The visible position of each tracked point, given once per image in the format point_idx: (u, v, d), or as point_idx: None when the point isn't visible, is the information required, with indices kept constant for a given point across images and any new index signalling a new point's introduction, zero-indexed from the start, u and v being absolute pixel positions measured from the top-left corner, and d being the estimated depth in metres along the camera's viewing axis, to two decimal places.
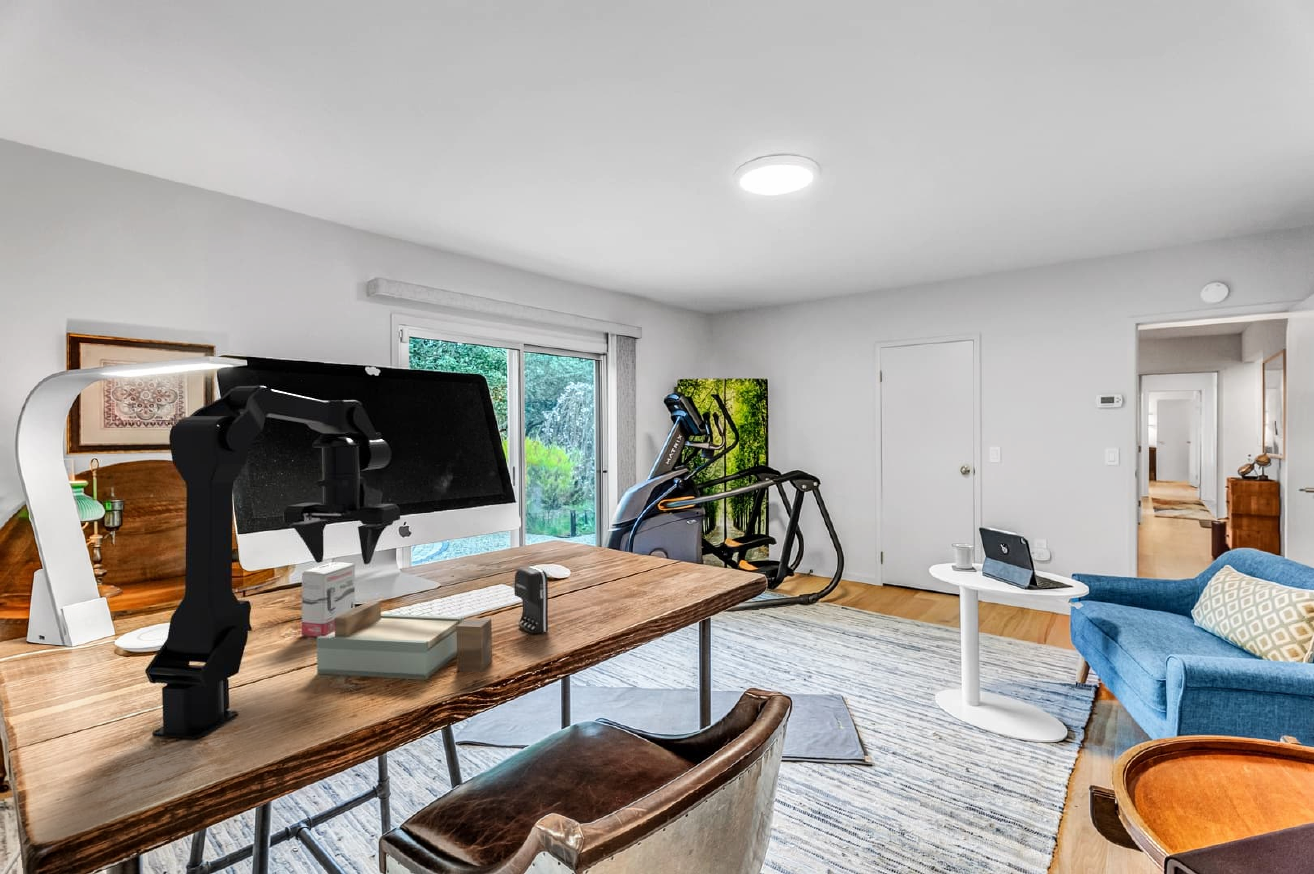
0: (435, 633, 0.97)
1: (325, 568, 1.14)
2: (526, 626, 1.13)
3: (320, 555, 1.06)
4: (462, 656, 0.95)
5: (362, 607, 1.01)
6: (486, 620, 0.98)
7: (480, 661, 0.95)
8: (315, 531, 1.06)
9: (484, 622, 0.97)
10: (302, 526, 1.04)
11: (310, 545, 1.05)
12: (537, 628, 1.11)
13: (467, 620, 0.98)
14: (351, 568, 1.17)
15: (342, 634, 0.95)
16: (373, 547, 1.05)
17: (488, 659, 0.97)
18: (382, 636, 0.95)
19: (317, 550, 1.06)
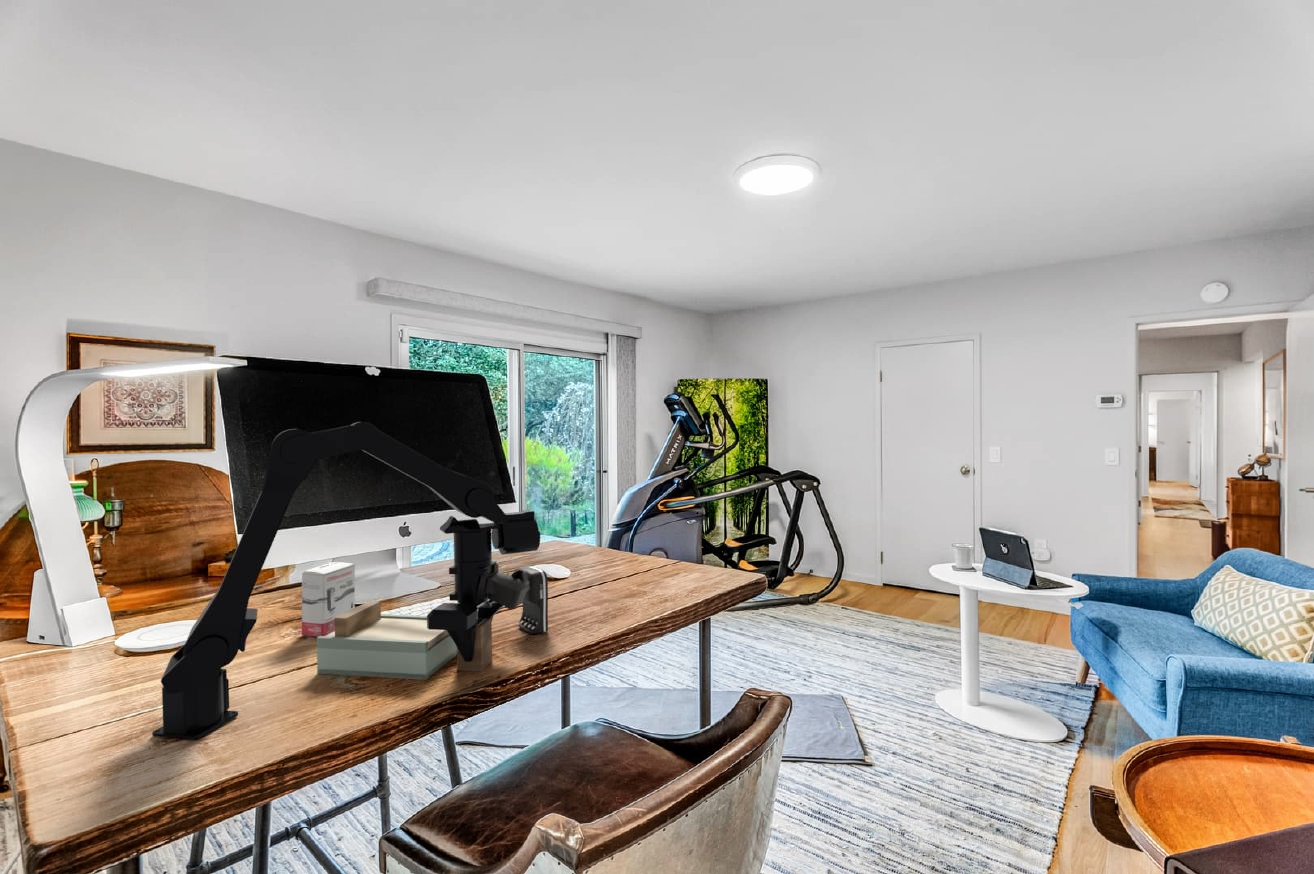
0: (435, 633, 0.97)
1: (325, 568, 1.14)
2: (526, 626, 1.13)
3: None
4: None
5: (362, 607, 1.01)
6: (486, 620, 0.98)
7: (480, 661, 0.95)
8: (478, 616, 0.99)
9: (484, 622, 0.97)
10: None
11: None
12: (537, 628, 1.11)
13: None
14: (351, 568, 1.17)
15: (342, 634, 0.95)
16: (467, 646, 0.94)
17: (488, 659, 0.97)
18: (382, 636, 0.95)
19: None
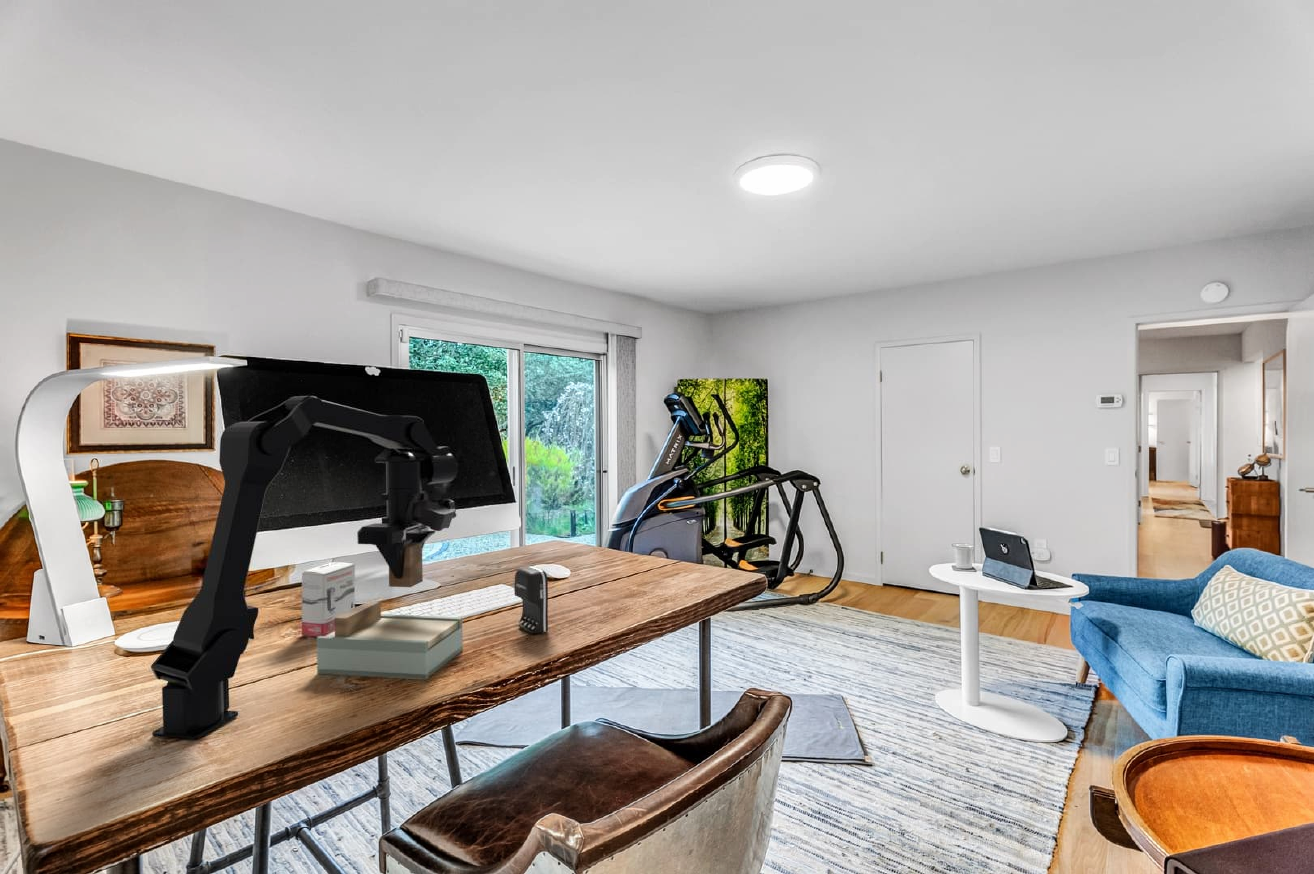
0: (435, 633, 0.97)
1: (325, 568, 1.14)
2: (526, 626, 1.13)
3: None
4: None
5: (362, 607, 1.01)
6: (417, 543, 1.09)
7: (409, 578, 1.06)
8: (410, 541, 1.11)
9: (414, 544, 1.08)
10: None
11: None
12: (537, 628, 1.11)
13: None
14: (351, 568, 1.17)
15: (342, 634, 0.95)
16: (397, 563, 1.05)
17: (418, 578, 1.08)
18: (382, 636, 0.95)
19: None
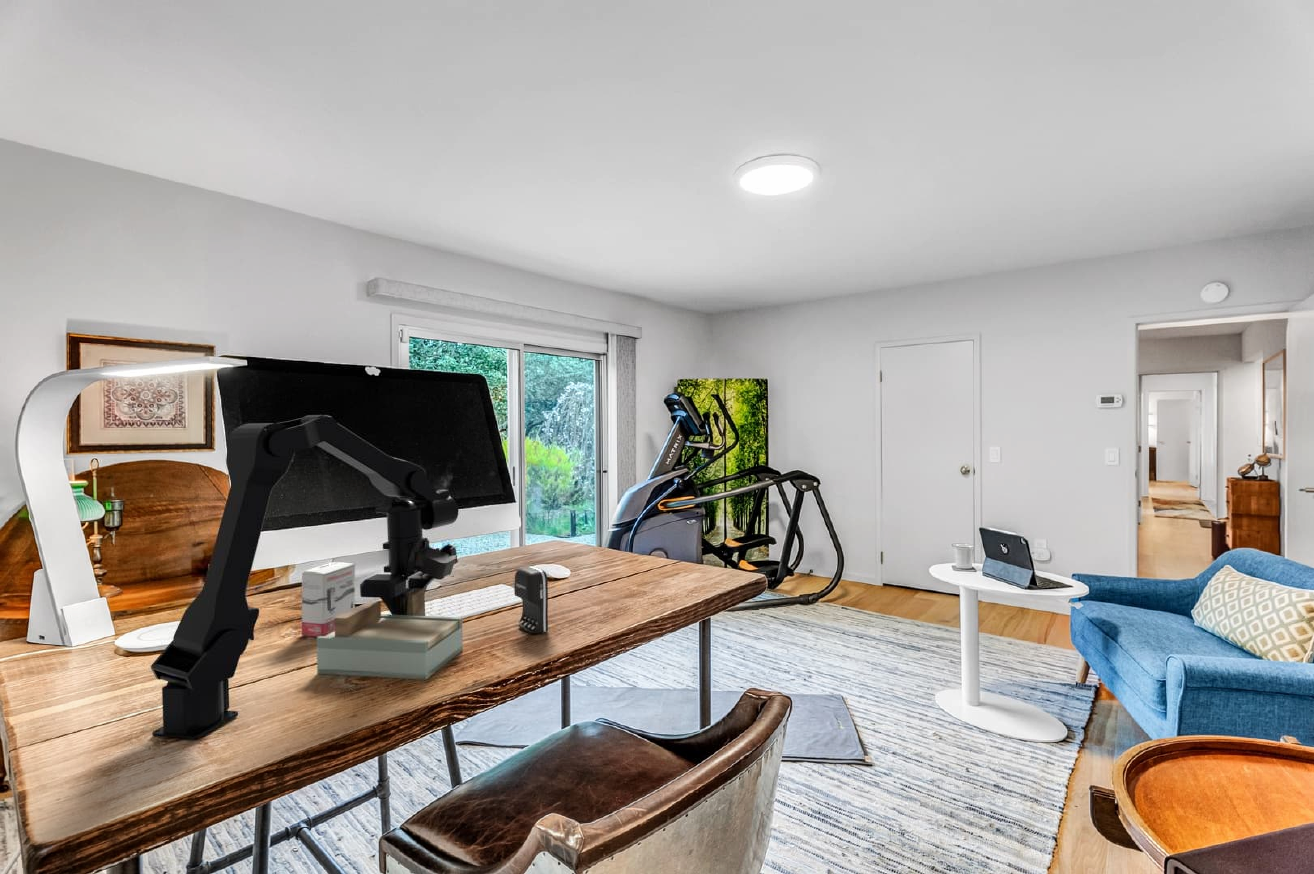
0: (435, 633, 0.97)
1: (325, 568, 1.14)
2: (526, 626, 1.13)
3: None
4: None
5: (362, 607, 1.01)
6: (419, 589, 1.10)
7: None
8: (413, 587, 1.11)
9: (417, 591, 1.09)
10: None
11: None
12: (537, 628, 1.11)
13: None
14: (351, 568, 1.17)
15: (342, 634, 0.95)
16: (400, 612, 1.06)
17: None
18: (382, 636, 0.95)
19: None
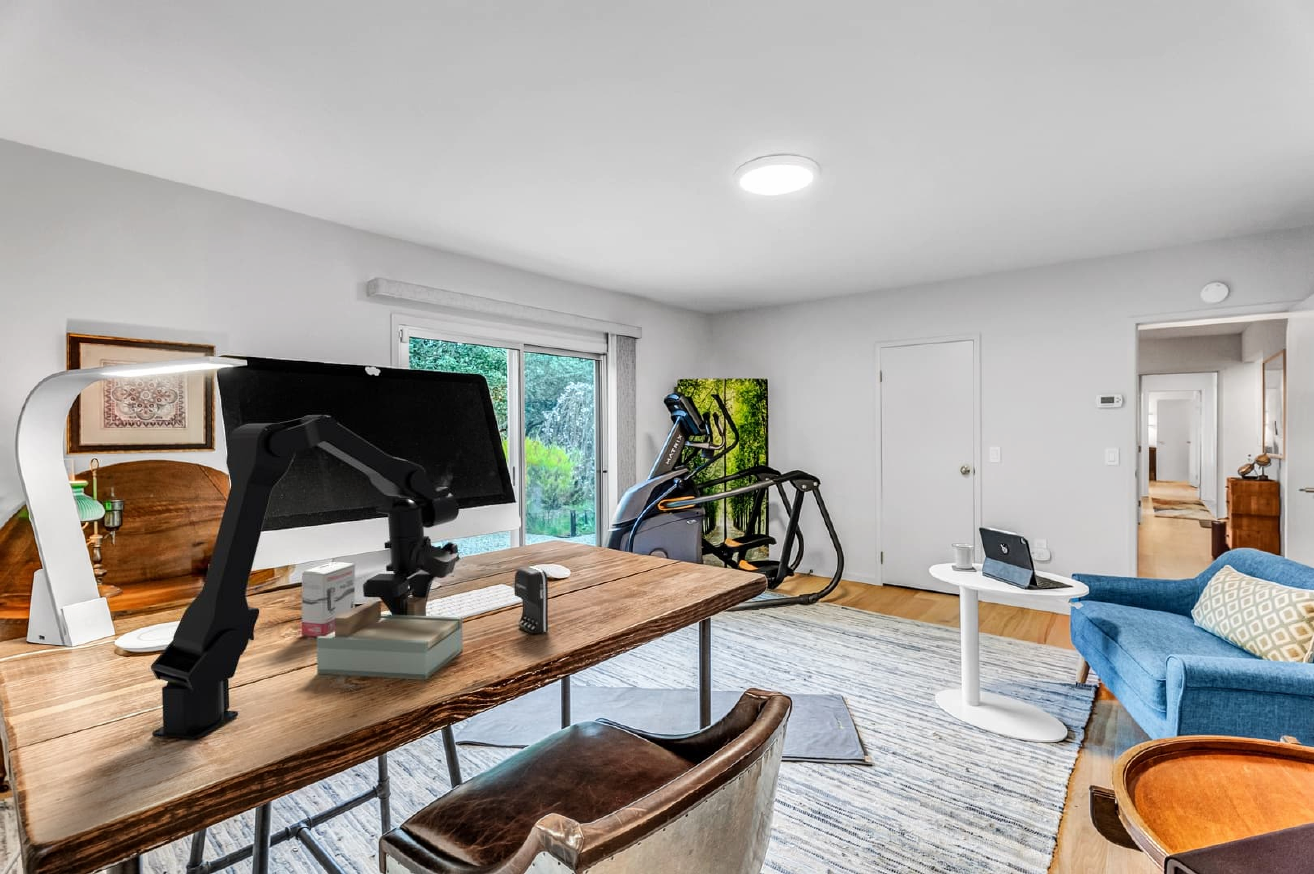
0: (435, 633, 0.97)
1: (325, 568, 1.14)
2: (526, 626, 1.13)
3: None
4: None
5: (362, 607, 1.01)
6: (421, 598, 1.10)
7: None
8: (418, 583, 1.13)
9: (418, 600, 1.09)
10: None
11: None
12: (537, 628, 1.11)
13: None
14: (352, 568, 1.17)
15: (342, 634, 0.95)
16: (400, 612, 1.06)
17: None
18: (382, 636, 0.95)
19: None
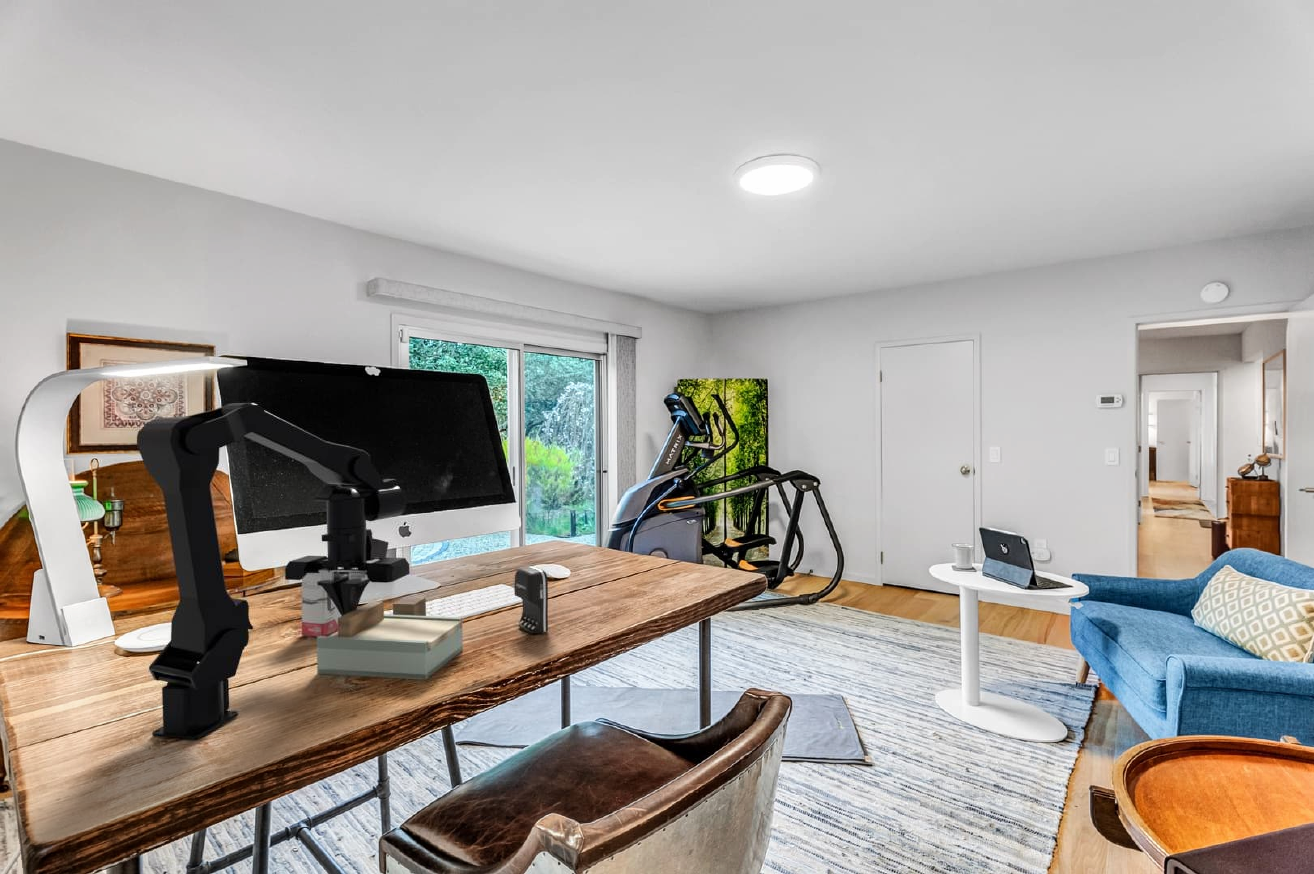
0: (439, 633, 0.97)
1: None
2: (526, 626, 1.13)
3: None
4: None
5: (365, 607, 1.00)
6: (421, 599, 1.10)
7: None
8: None
9: (418, 600, 1.09)
10: (330, 584, 0.97)
11: (338, 604, 0.98)
12: (537, 628, 1.11)
13: (403, 599, 1.10)
14: None
15: (345, 634, 0.95)
16: (356, 603, 1.00)
17: None
18: (386, 637, 0.95)
19: None
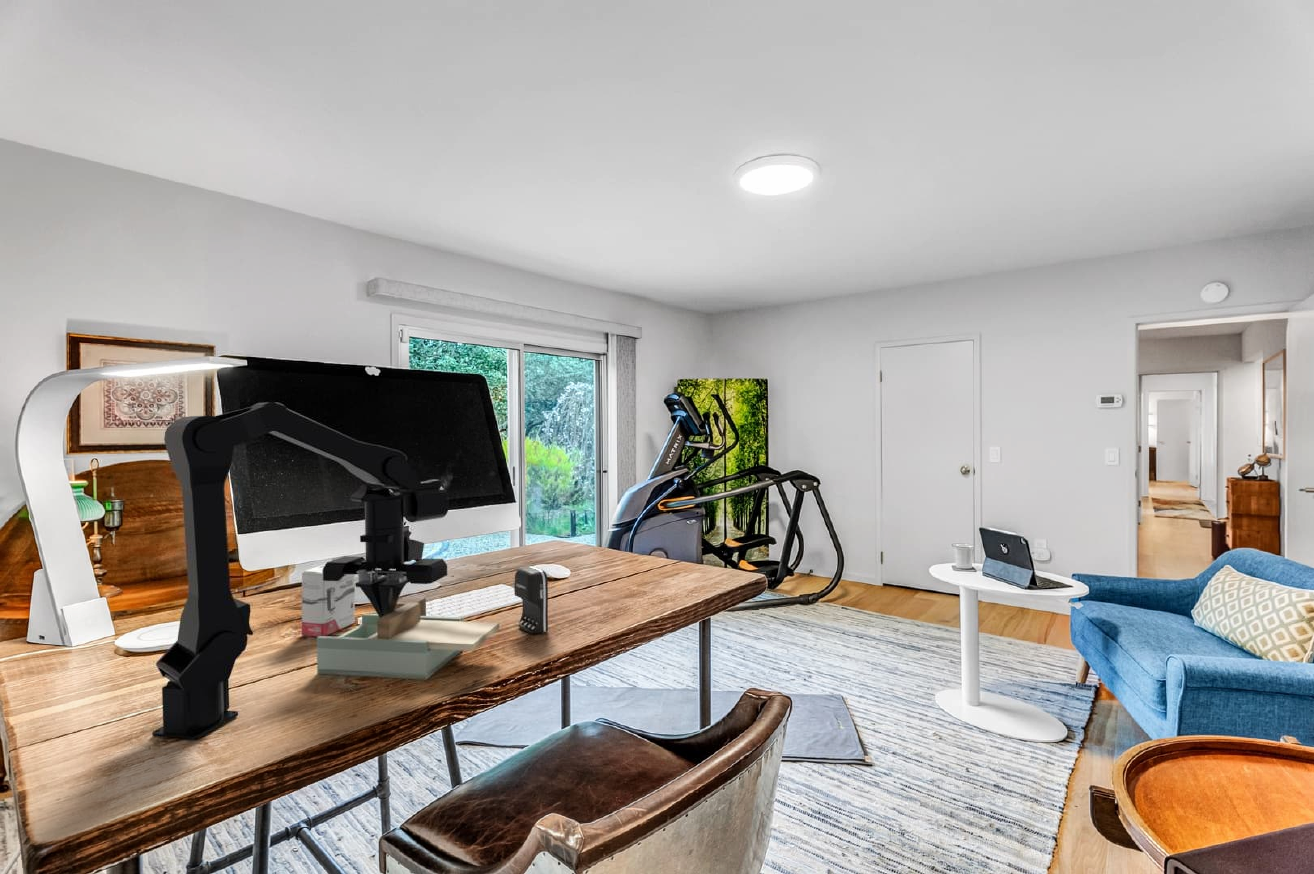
0: (479, 635, 0.96)
1: None
2: (526, 626, 1.13)
3: None
4: None
5: (403, 609, 0.99)
6: (421, 599, 1.10)
7: None
8: None
9: (418, 600, 1.09)
10: (369, 585, 0.96)
11: (377, 605, 0.97)
12: (537, 628, 1.11)
13: (403, 599, 1.10)
14: None
15: (385, 636, 0.94)
16: (394, 604, 0.99)
17: None
18: (426, 638, 0.94)
19: None
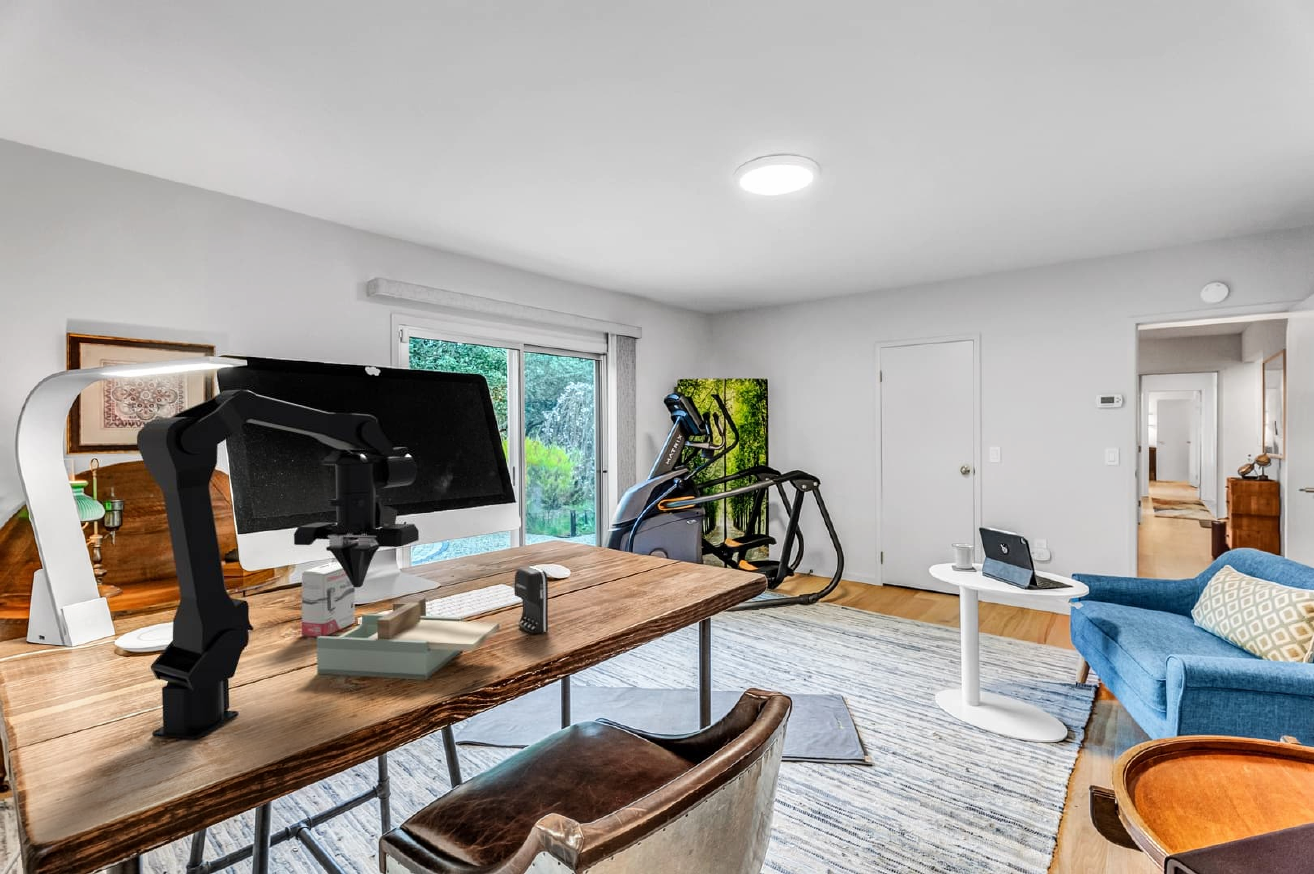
0: (479, 635, 0.96)
1: (325, 568, 1.13)
2: (526, 626, 1.13)
3: None
4: None
5: (403, 609, 0.99)
6: (421, 599, 1.10)
7: None
8: None
9: (418, 600, 1.09)
10: (340, 549, 0.97)
11: (348, 569, 0.98)
12: (537, 628, 1.11)
13: (403, 599, 1.10)
14: None
15: (385, 636, 0.94)
16: (365, 569, 1.00)
17: None
18: (426, 638, 0.94)
19: None
